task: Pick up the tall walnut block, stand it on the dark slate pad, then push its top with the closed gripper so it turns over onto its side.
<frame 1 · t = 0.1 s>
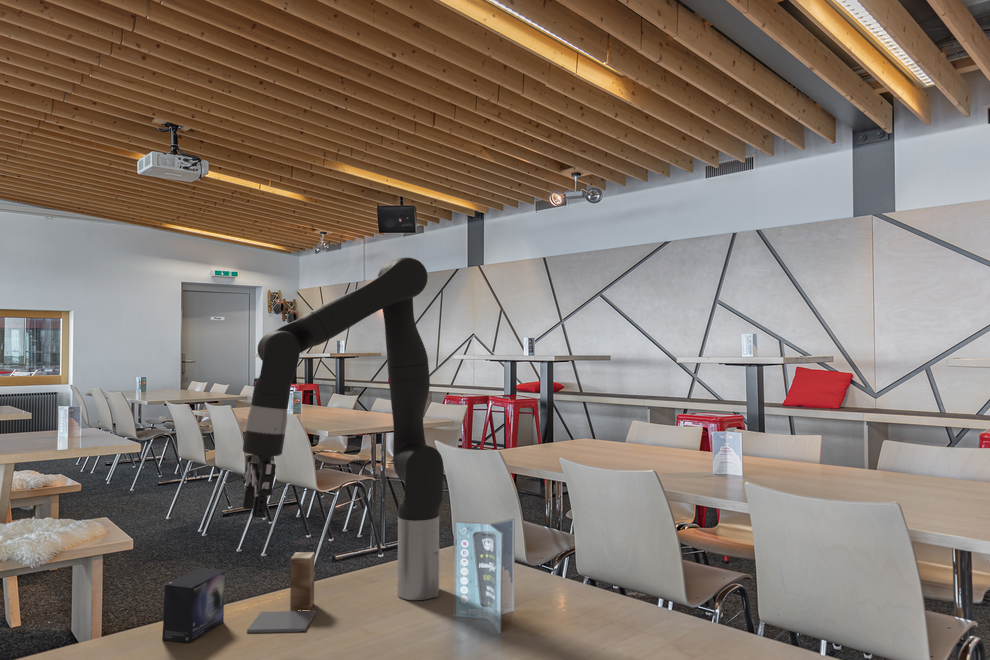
hand: (252, 512, 130), 22 cm above the table, tool pointing down, fingers open, 8 cm apart
walnut block: (302, 607, 140), on the table
small box: (194, 632, 128), on the table
slate pad: (282, 622, 131), on the table
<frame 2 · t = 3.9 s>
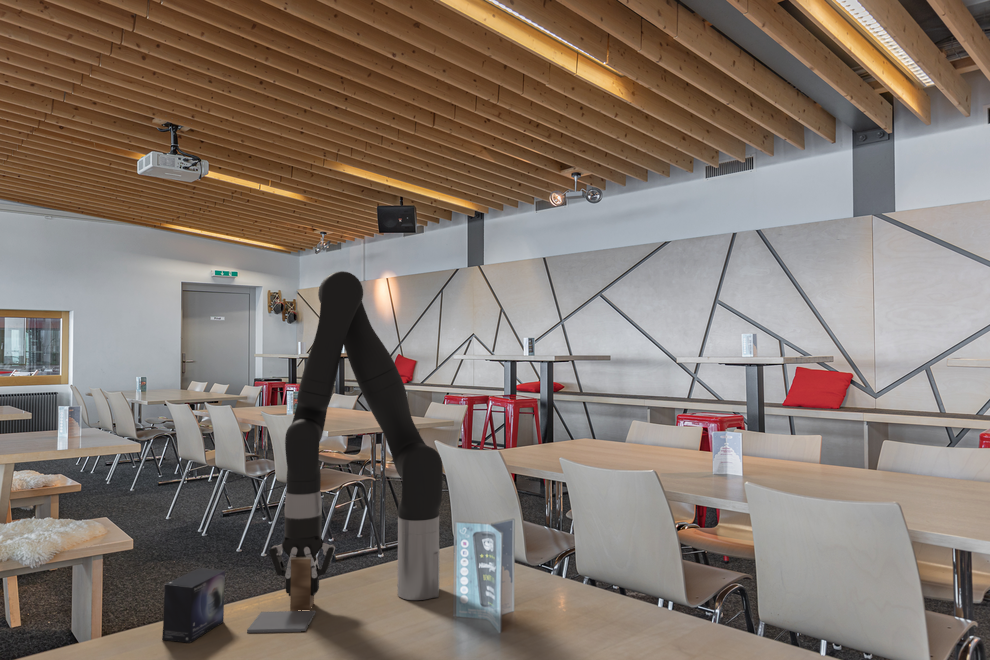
hand: (302, 594, 140), 3 cm above the table, tool pointing down, fingers closed on walnut block, 4 cm apart
walnut block: (302, 607, 140), on the table, touching gripper
everything else where it was.
when the fingers open (4 cm above the table, at t = 8.4 s): walnut block drops 1 cm, resting on slate pad.
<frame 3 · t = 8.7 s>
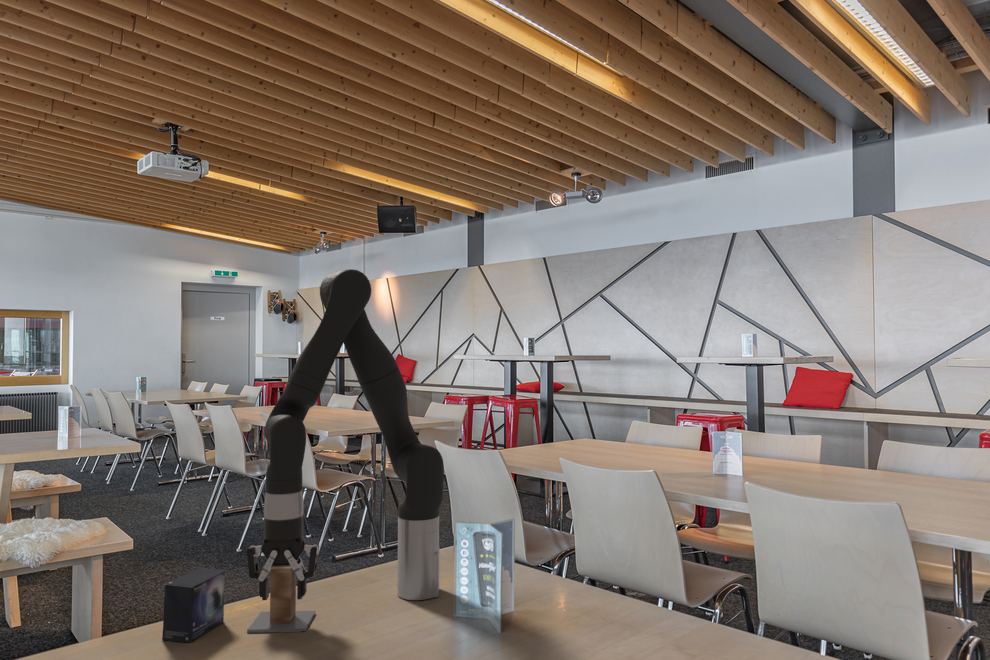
hand: (282, 598, 132), 5 cm above the table, tool pointing down, fingers open, 6 cm apart
walnut block: (282, 619, 132), point 1 cm above the table, touching slate pad
everything else where it was.
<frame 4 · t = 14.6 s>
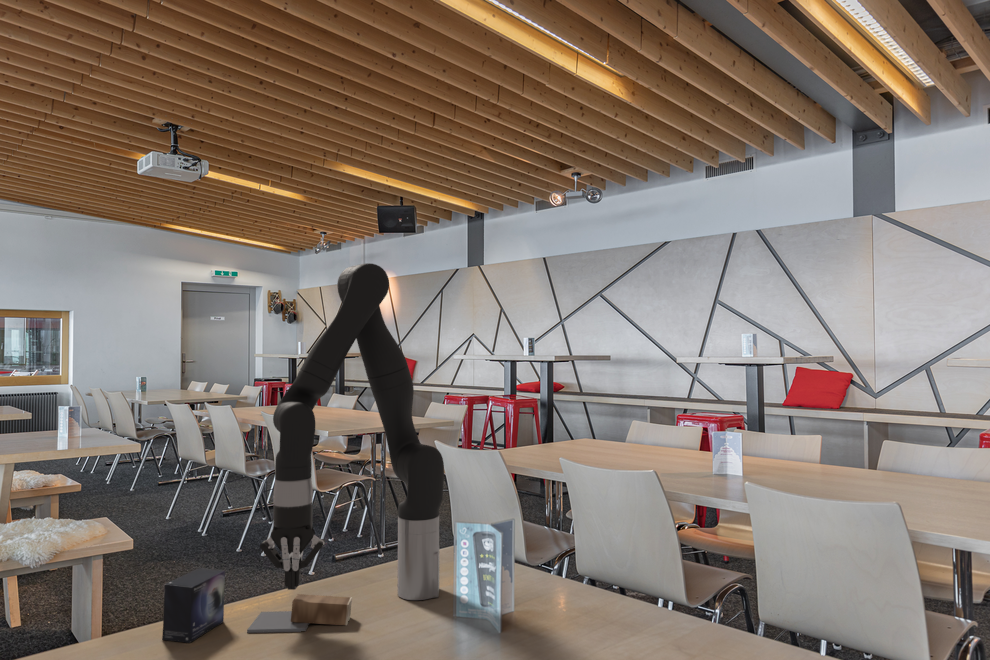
hand: (292, 588, 132), 7 cm above the table, tool pointing down, fingers closed
walnut block: (294, 607, 132), point 3 cm above the table, tilted 95°, touching slate pad
everything else where it was.
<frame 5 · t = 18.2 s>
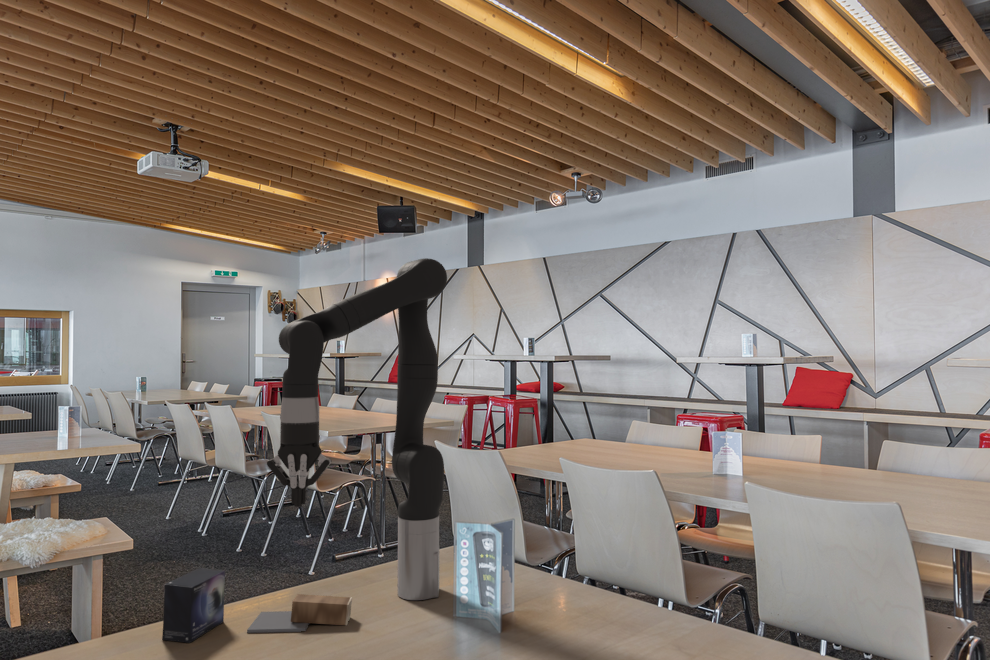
hand: (299, 506, 133), 23 cm above the table, tool pointing down, fingers closed
nothing on the table moved.
at the end: walnut block tilted 95°; walnut block 2.2 cm from the slate pad (horizontally); the gripper is holding nothing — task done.
